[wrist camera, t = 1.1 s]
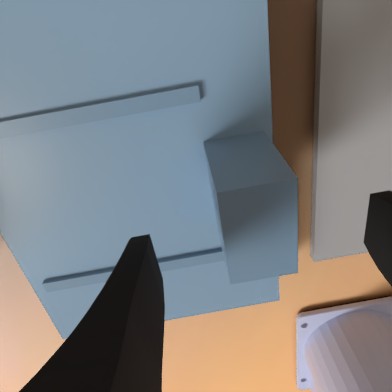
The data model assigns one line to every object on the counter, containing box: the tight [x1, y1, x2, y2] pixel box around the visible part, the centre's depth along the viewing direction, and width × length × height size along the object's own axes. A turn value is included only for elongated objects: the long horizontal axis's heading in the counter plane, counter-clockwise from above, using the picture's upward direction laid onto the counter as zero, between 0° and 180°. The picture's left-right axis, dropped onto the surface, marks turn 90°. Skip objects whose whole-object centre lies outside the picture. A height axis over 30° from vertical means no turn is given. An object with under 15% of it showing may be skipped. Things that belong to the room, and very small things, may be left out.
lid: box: [0, 0, 298, 339], centre depth 14 cm, size 16×12×5 cm
